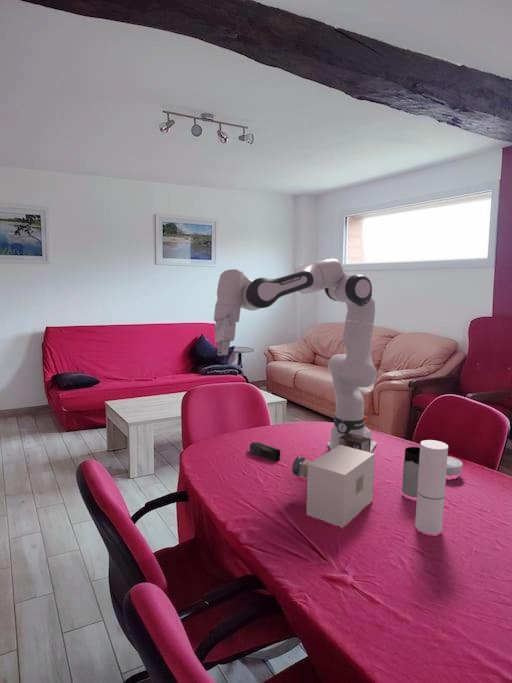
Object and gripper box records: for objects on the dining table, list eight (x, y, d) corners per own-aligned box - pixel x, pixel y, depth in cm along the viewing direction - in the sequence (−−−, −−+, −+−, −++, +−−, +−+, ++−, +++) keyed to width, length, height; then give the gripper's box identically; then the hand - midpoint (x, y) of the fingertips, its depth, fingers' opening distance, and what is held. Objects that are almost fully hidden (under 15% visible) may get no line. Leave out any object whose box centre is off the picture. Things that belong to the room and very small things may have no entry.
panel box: (338, 490, 153) (339, 444, 151) (372, 502, 146) (374, 453, 143) (306, 515, 137) (307, 463, 135) (342, 528, 130) (345, 474, 128)
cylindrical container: (441, 525, 132) (447, 441, 129) (442, 538, 126) (449, 450, 122) (415, 520, 135) (420, 438, 131) (414, 533, 128) (420, 447, 125)
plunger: (302, 471, 153) (302, 454, 152) (342, 484, 144) (343, 465, 143) (292, 477, 148) (292, 459, 147) (333, 491, 139) (334, 472, 138)
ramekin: (427, 478, 164) (428, 464, 163) (428, 466, 174) (429, 453, 173) (462, 484, 159) (463, 469, 159) (461, 471, 170) (462, 457, 169)
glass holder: (395, 495, 151) (398, 451, 148) (414, 481, 161) (417, 440, 159) (421, 504, 145) (424, 458, 143) (439, 489, 155) (442, 446, 153)
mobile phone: (281, 448, 178) (249, 439, 186) (277, 450, 175) (245, 441, 184) (281, 460, 179) (249, 451, 187) (276, 463, 176) (245, 453, 185)
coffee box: (369, 483, 159) (371, 438, 156) (359, 489, 154) (362, 443, 152) (346, 475, 165) (348, 432, 163) (336, 481, 160) (338, 436, 158)
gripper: (242, 313, 151) (237, 355, 150) (230, 319, 171) (226, 356, 170) (223, 310, 149) (218, 353, 148) (213, 317, 169) (209, 354, 168)
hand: (222, 355), depth 159 cm, fingers open, 8 cm apart
